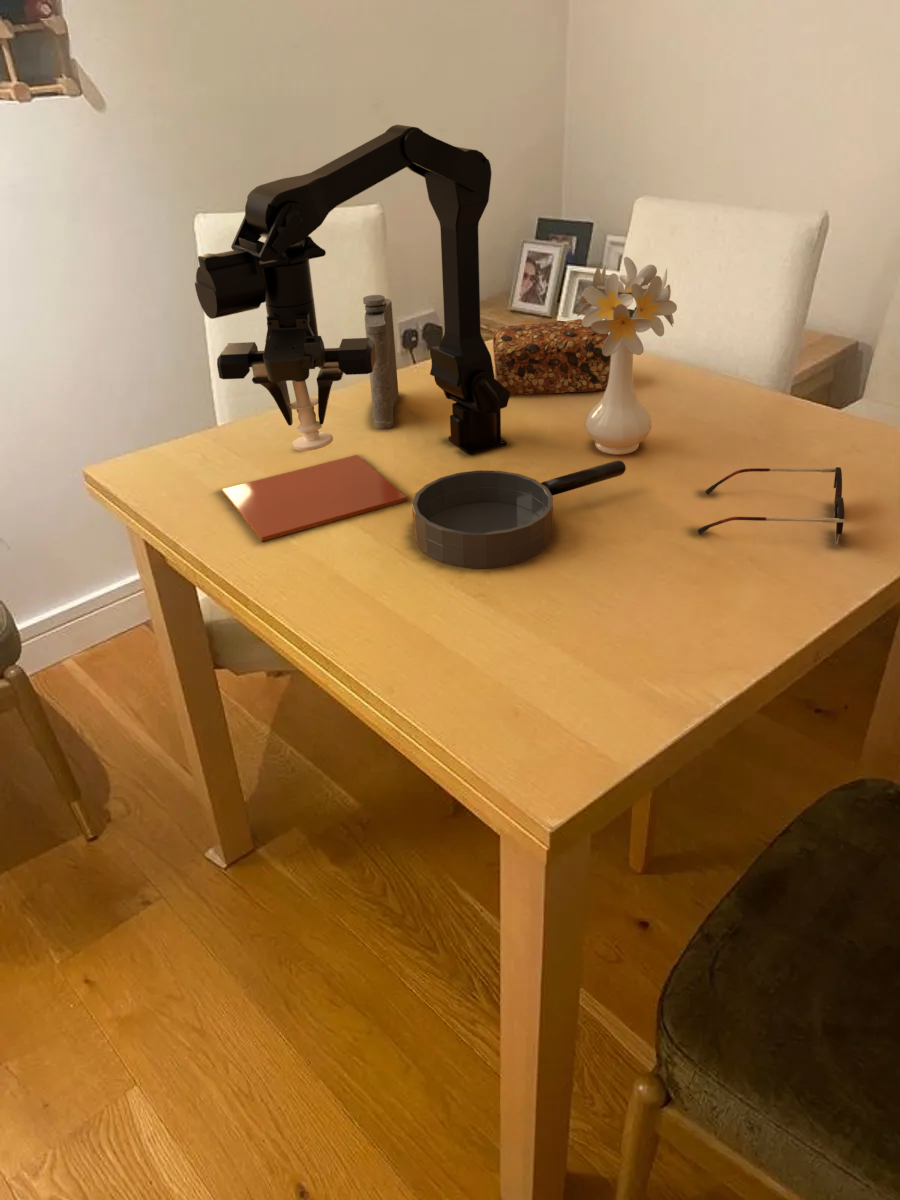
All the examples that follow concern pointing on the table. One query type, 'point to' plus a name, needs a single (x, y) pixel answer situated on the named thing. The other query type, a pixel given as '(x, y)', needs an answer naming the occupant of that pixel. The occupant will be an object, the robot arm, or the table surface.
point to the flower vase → (623, 350)
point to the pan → (483, 519)
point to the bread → (550, 358)
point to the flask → (382, 359)
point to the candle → (308, 421)
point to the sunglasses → (837, 513)
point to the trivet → (311, 497)
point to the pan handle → (585, 477)
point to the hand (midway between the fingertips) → (306, 423)
